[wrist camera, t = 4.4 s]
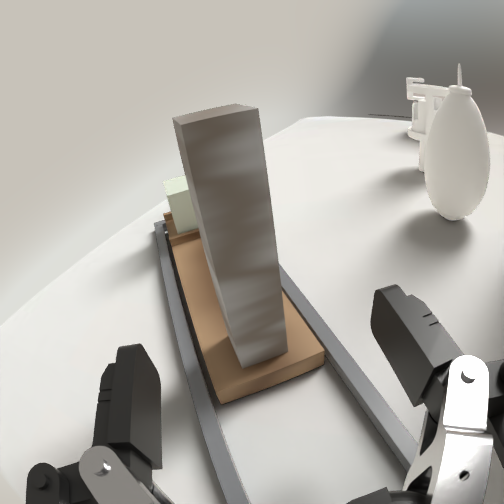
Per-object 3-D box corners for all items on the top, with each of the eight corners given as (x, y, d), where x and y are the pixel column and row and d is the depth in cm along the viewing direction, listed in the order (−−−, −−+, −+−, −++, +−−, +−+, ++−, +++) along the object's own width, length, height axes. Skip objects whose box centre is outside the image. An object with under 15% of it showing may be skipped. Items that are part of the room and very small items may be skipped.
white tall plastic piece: (408, 160, 49) (407, 76, 41) (446, 166, 45) (448, 80, 37) (405, 173, 44) (404, 77, 36) (448, 180, 41) (451, 83, 32)
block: (214, 208, 38) (205, 169, 35) (224, 225, 34) (215, 181, 31) (173, 220, 37) (162, 181, 34) (179, 239, 33) (167, 195, 30)
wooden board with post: (222, 213, 40) (197, 90, 31) (323, 364, 19) (316, 103, 11) (168, 230, 38) (134, 106, 30) (221, 404, 18) (126, 144, 9)
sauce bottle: (428, 233, 30) (436, 58, 20) (414, 201, 36) (415, 58, 26) (488, 235, 28) (506, 71, 18) (467, 203, 34) (475, 66, 24)
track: (230, 207, 41) (228, 200, 41) (450, 503, 10) (458, 499, 9) (156, 229, 39) (153, 223, 39) (271, 595, 8) (269, 598, 7)
